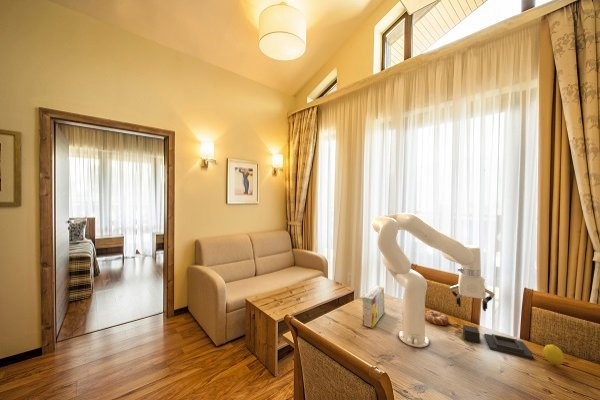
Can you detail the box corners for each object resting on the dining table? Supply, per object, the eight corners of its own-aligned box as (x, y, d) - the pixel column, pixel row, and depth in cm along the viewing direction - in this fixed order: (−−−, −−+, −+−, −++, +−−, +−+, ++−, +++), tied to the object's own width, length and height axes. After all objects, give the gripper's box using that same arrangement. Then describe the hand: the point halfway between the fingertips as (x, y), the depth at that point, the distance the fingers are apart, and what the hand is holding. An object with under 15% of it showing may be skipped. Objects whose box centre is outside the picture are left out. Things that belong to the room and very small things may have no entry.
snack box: (375, 310, 139) (375, 284, 139) (384, 312, 136) (384, 286, 136) (362, 325, 122) (362, 296, 122) (372, 328, 119) (372, 299, 119)
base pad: (533, 359, 96) (533, 354, 96) (490, 349, 102) (490, 344, 102) (522, 343, 106) (522, 339, 106) (484, 335, 113) (484, 330, 113)
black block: (479, 343, 107) (479, 333, 107) (464, 339, 109) (464, 330, 109) (477, 336, 112) (477, 327, 112) (463, 333, 114) (463, 324, 114)
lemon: (566, 371, 89) (566, 350, 89) (546, 366, 92) (546, 346, 92) (560, 363, 94) (560, 343, 94) (541, 358, 97) (541, 339, 97)
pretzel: (419, 317, 131) (419, 310, 131) (433, 314, 134) (433, 307, 134) (438, 328, 119) (438, 320, 119) (453, 324, 123) (453, 317, 123)
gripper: (450, 271, 112) (450, 307, 112) (496, 276, 104) (496, 315, 104) (448, 267, 119) (449, 301, 118) (491, 272, 110) (492, 308, 110)
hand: (471, 307), depth 111 cm, fingers open, 9 cm apart
